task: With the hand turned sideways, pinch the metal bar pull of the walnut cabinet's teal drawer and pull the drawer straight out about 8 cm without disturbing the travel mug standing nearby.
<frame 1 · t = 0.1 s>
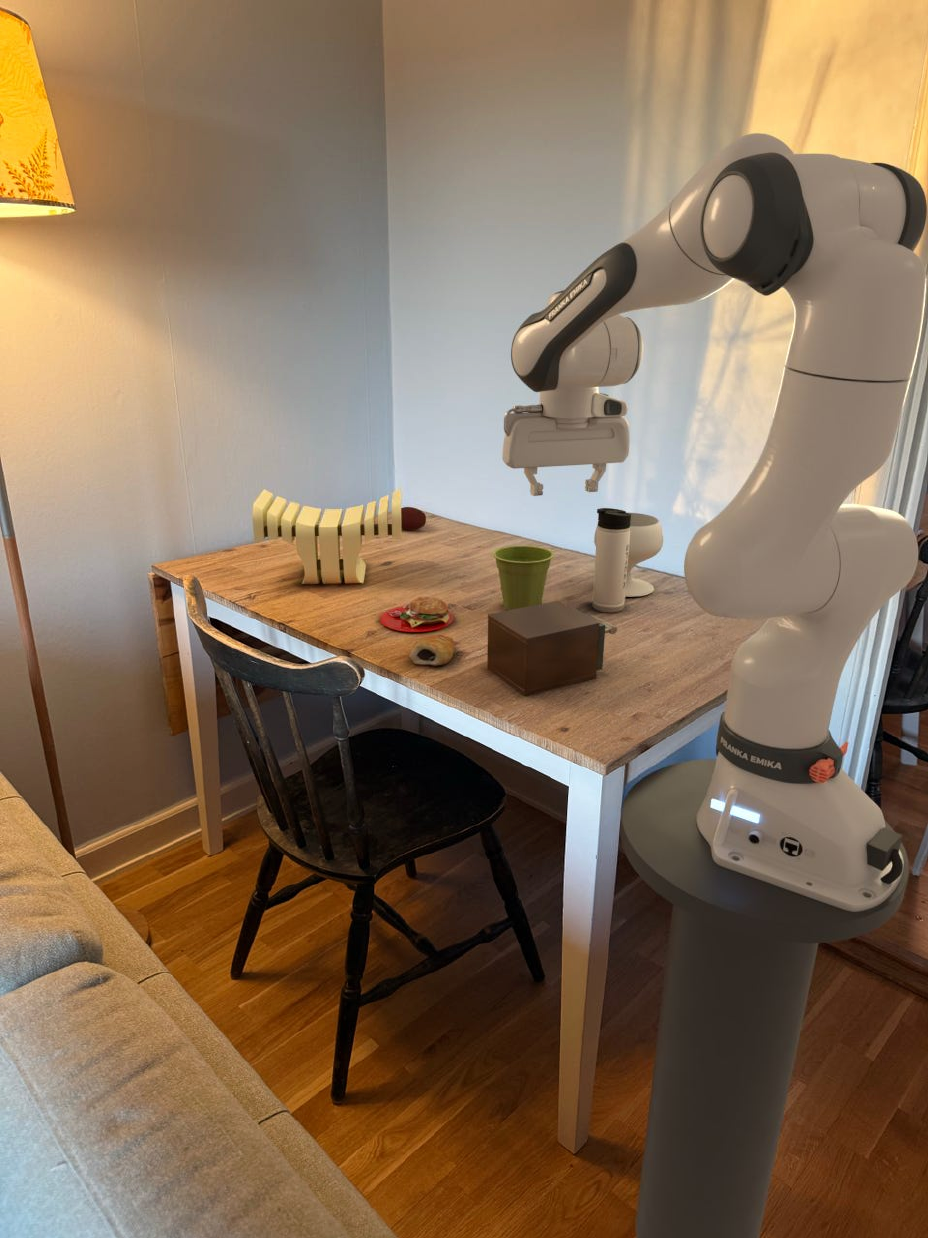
hand: (564, 493, 131), 28 cm above the table, tool pointing down, fingers open, 8 cm apart
drawer: (564, 641, 135), point 5 cm above the table, slide at 0.5 cm
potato: (410, 530, 217), on the table
chalice: (624, 589, 174), on the table
cabinet: (540, 673, 135), on the table
plant pot: (521, 608, 163), on the table
slatted curved stool: (334, 577, 181), on the table
hamburger: (416, 620, 157), on the table
pastry: (433, 658, 140), on the table
travel mug: (607, 608, 163), on the table
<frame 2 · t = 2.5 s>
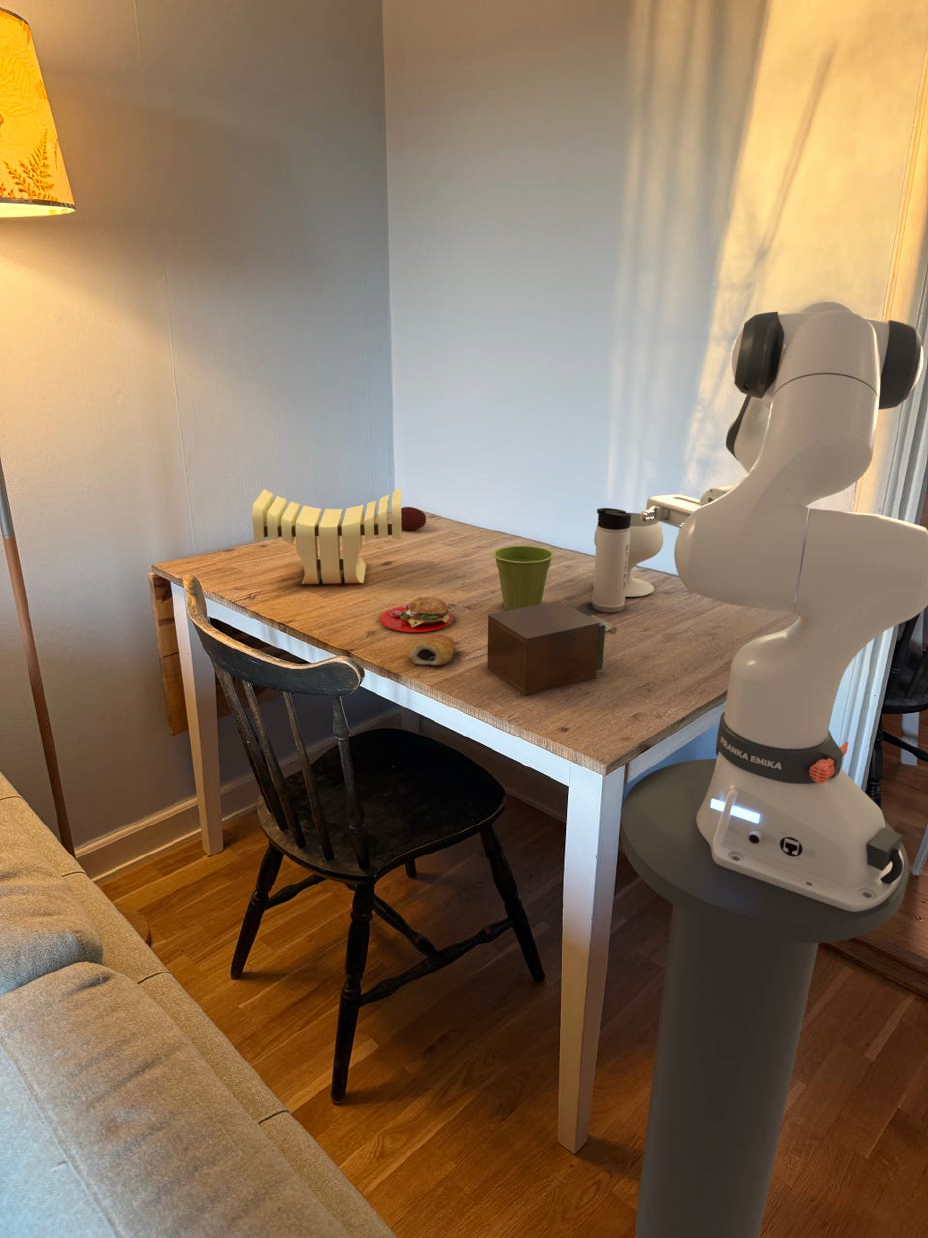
hand: (662, 523, 137), 22 cm above the table, tool horizontal, fingers open, 8 cm apart
nothing on the table moved.
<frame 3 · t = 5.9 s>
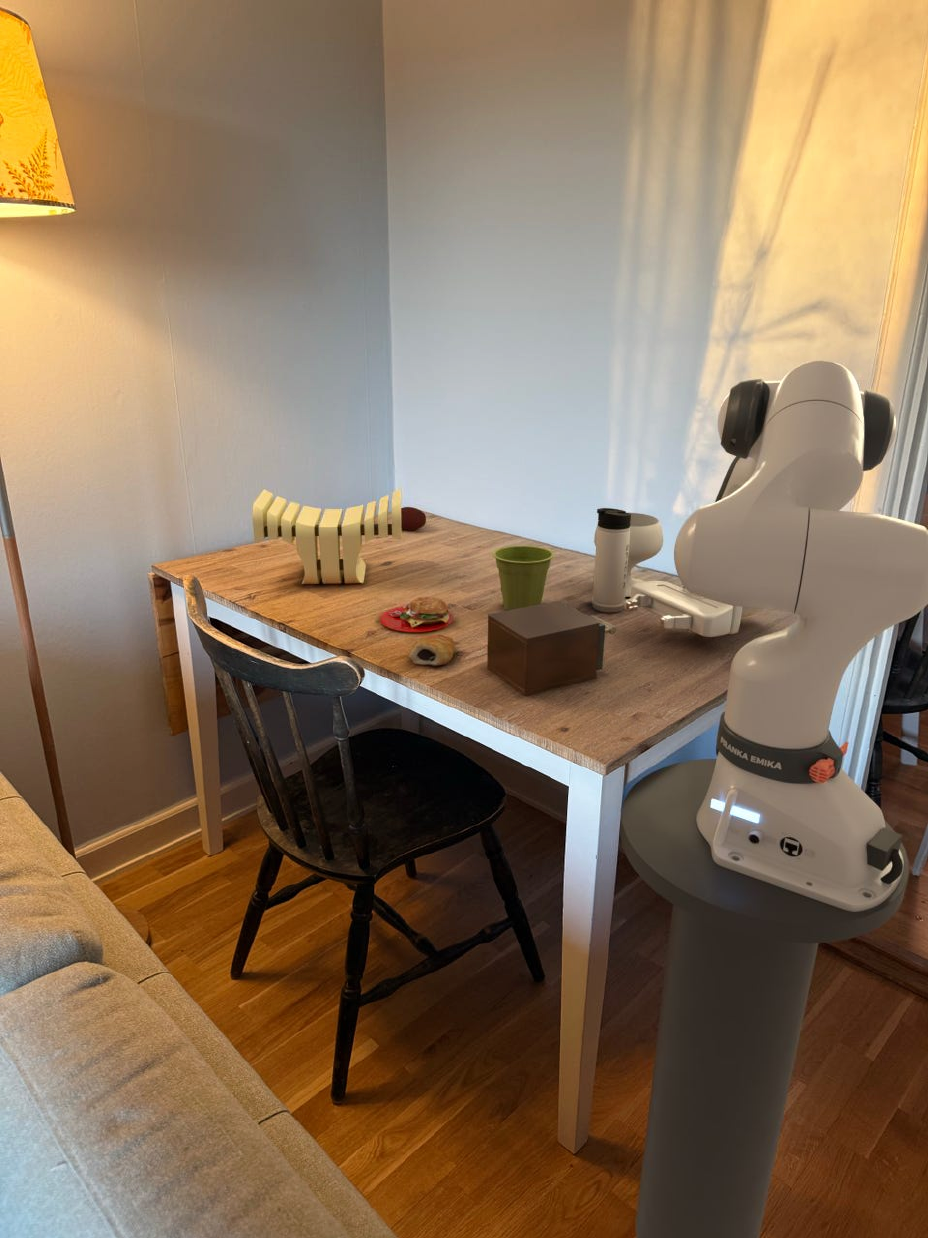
hand: (644, 614, 142), 7 cm above the table, tool horizontal, fingers open, 8 cm apart
nothing on the table moved.
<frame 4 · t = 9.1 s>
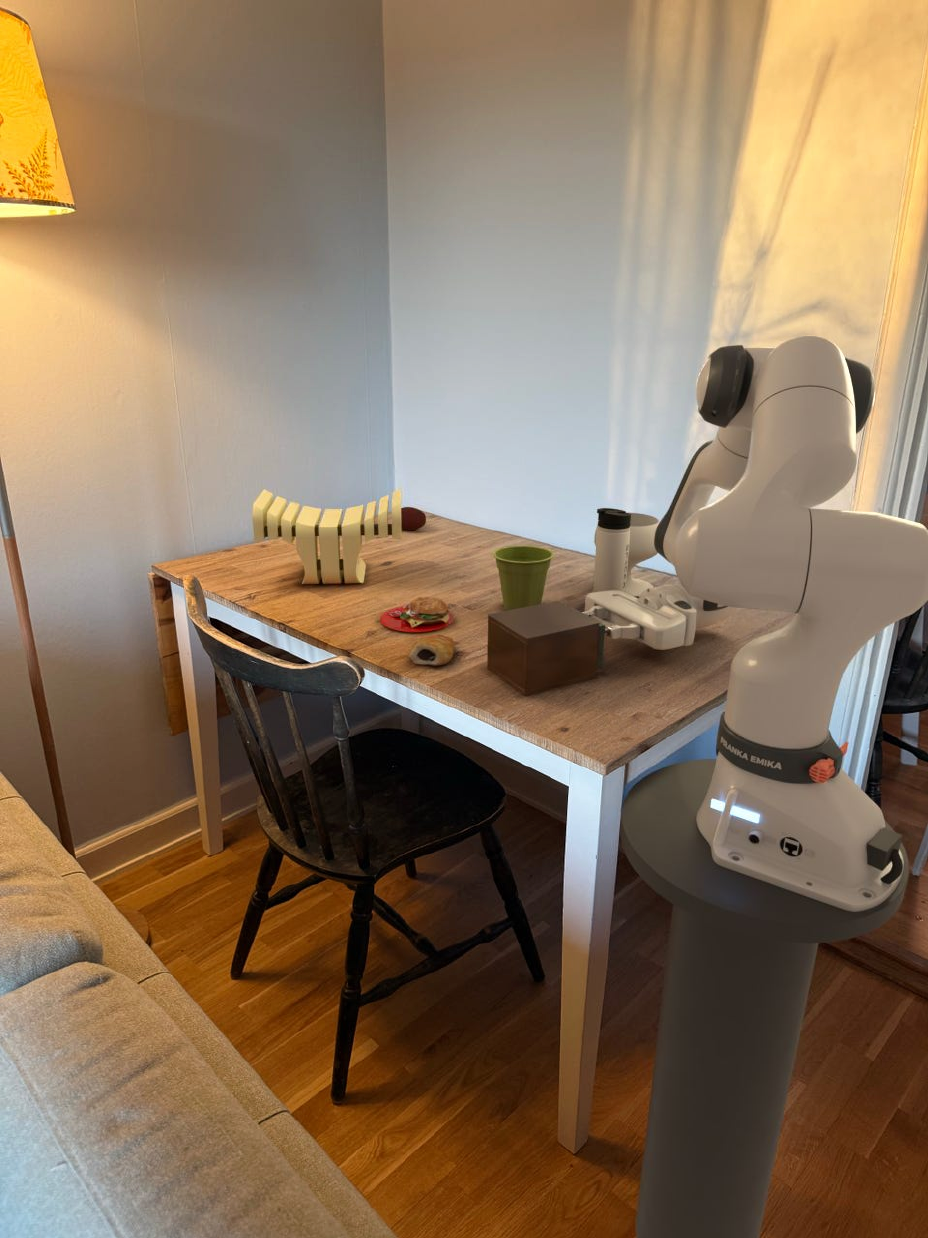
hand: (596, 625, 137), 6 cm above the table, tool horizontal, fingers closed on drawer, 6 cm apart
drawer: (564, 641, 135), point 5 cm above the table, slide at 0.5 cm, touching gripper
everything else where it was.
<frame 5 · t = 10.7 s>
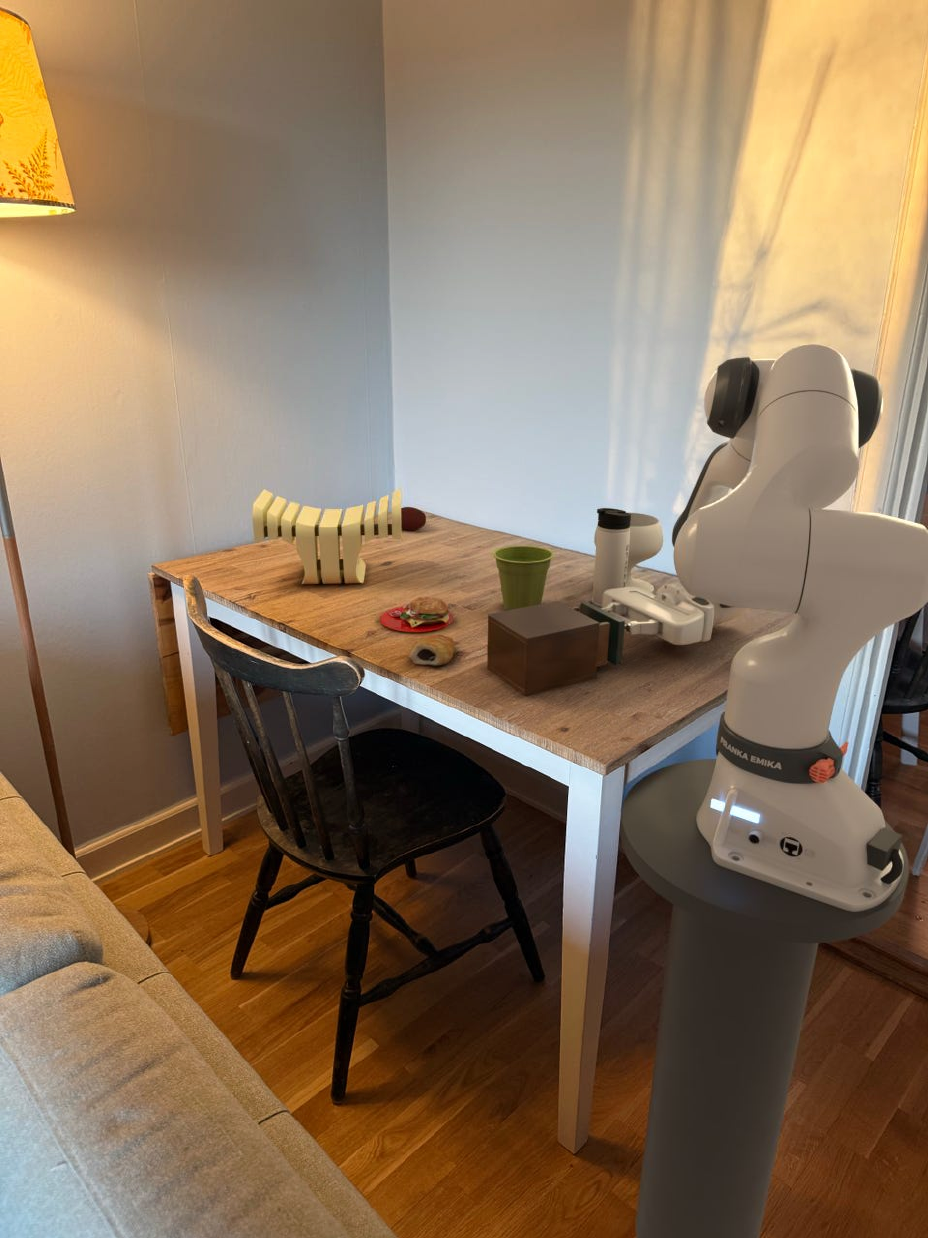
hand: (614, 621, 139), 6 cm above the table, tool horizontal, fingers closed on drawer, 6 cm apart
drawer: (583, 636, 137), point 5 cm above the table, slide at 4.5 cm, touching gripper
everything else where it was.
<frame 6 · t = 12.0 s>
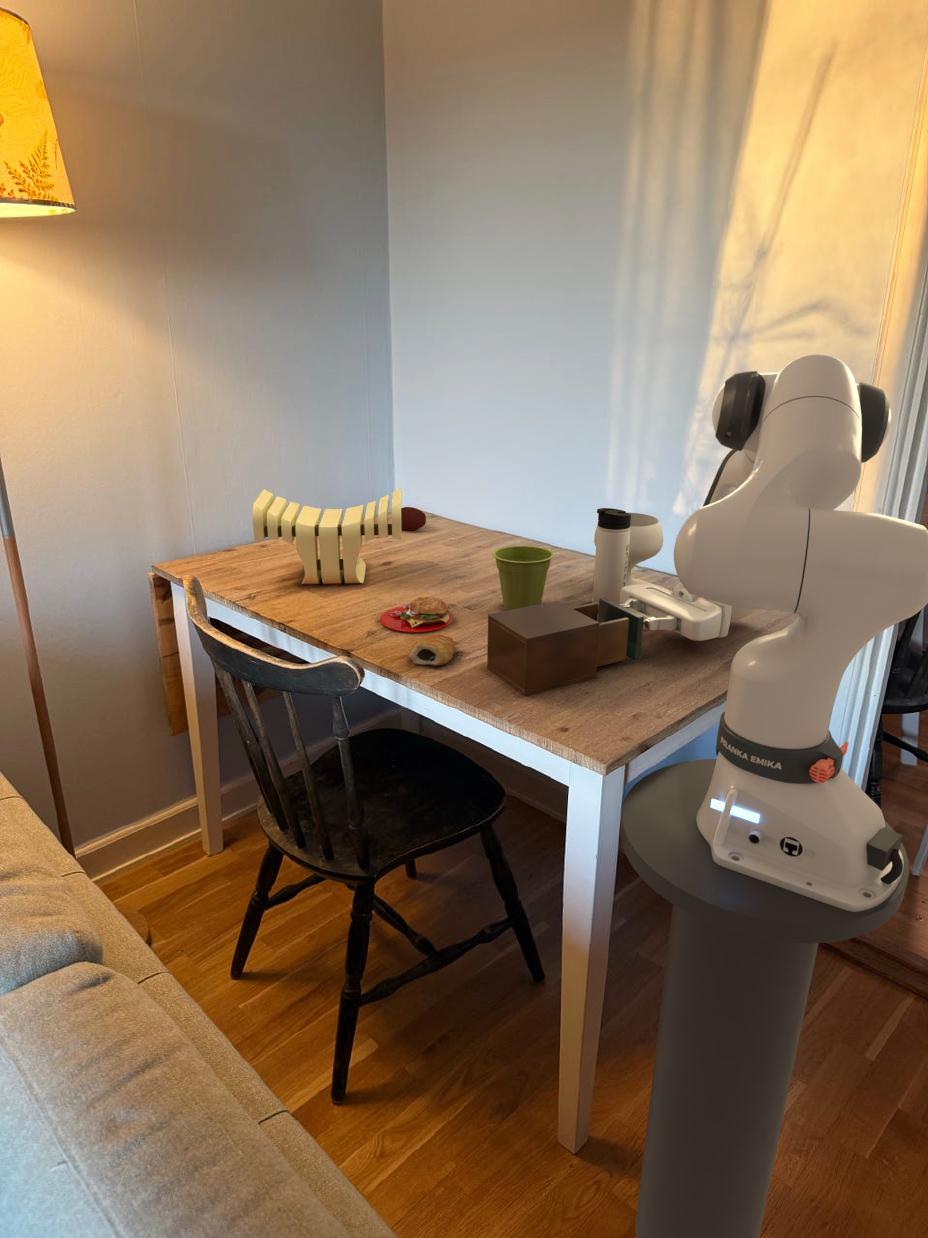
hand: (633, 617, 141), 6 cm above the table, tool horizontal, fingers closed on drawer, 6 cm apart
drawer: (603, 632, 139), point 5 cm above the table, slide at 8.4 cm, touching gripper
everything else where it was.
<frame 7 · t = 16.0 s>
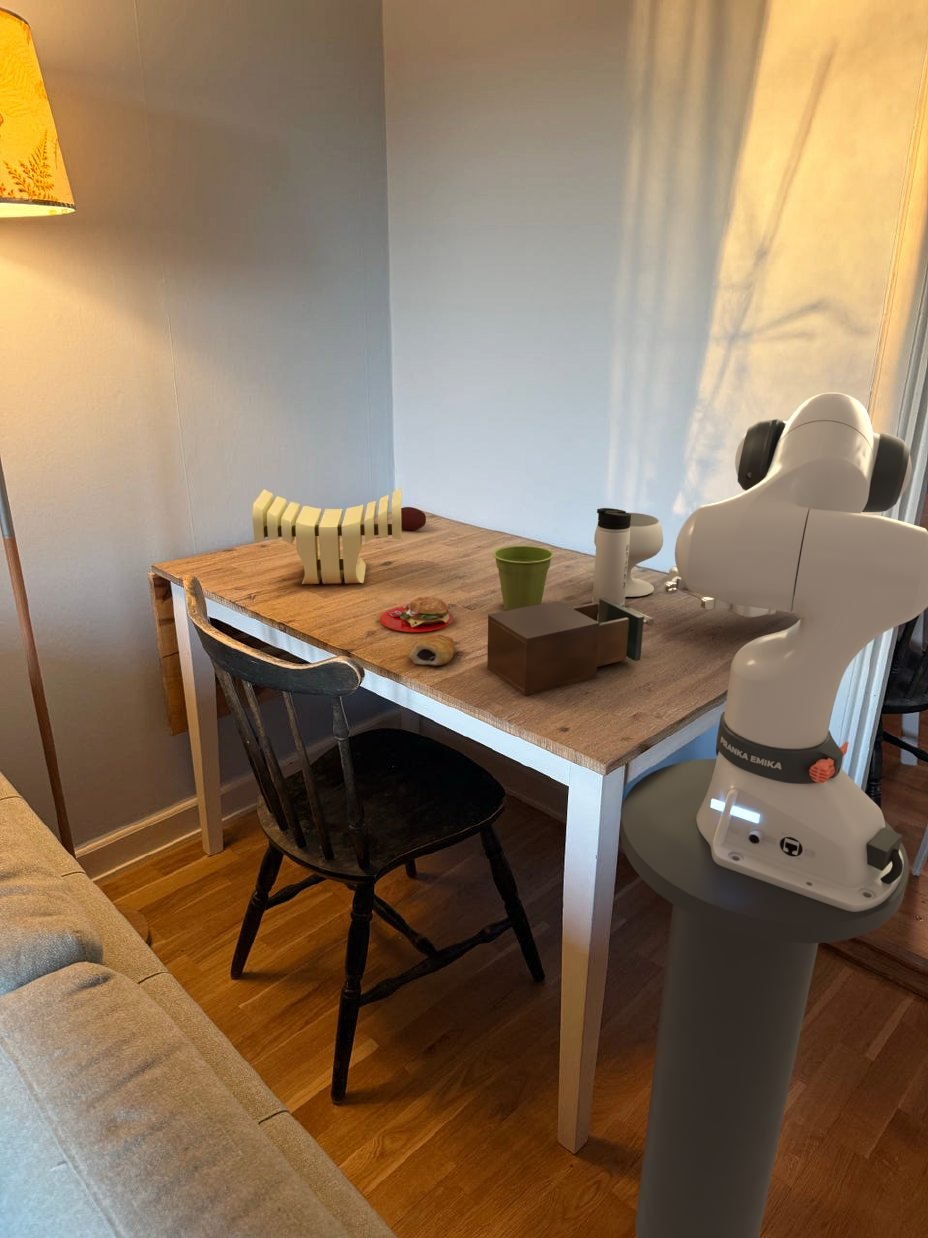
hand: (684, 595, 145), 8 cm above the table, tool horizontal, fingers open, 8 cm apart
drawer: (603, 632, 139), point 5 cm above the table, slide at 8.4 cm
everything else where it was.
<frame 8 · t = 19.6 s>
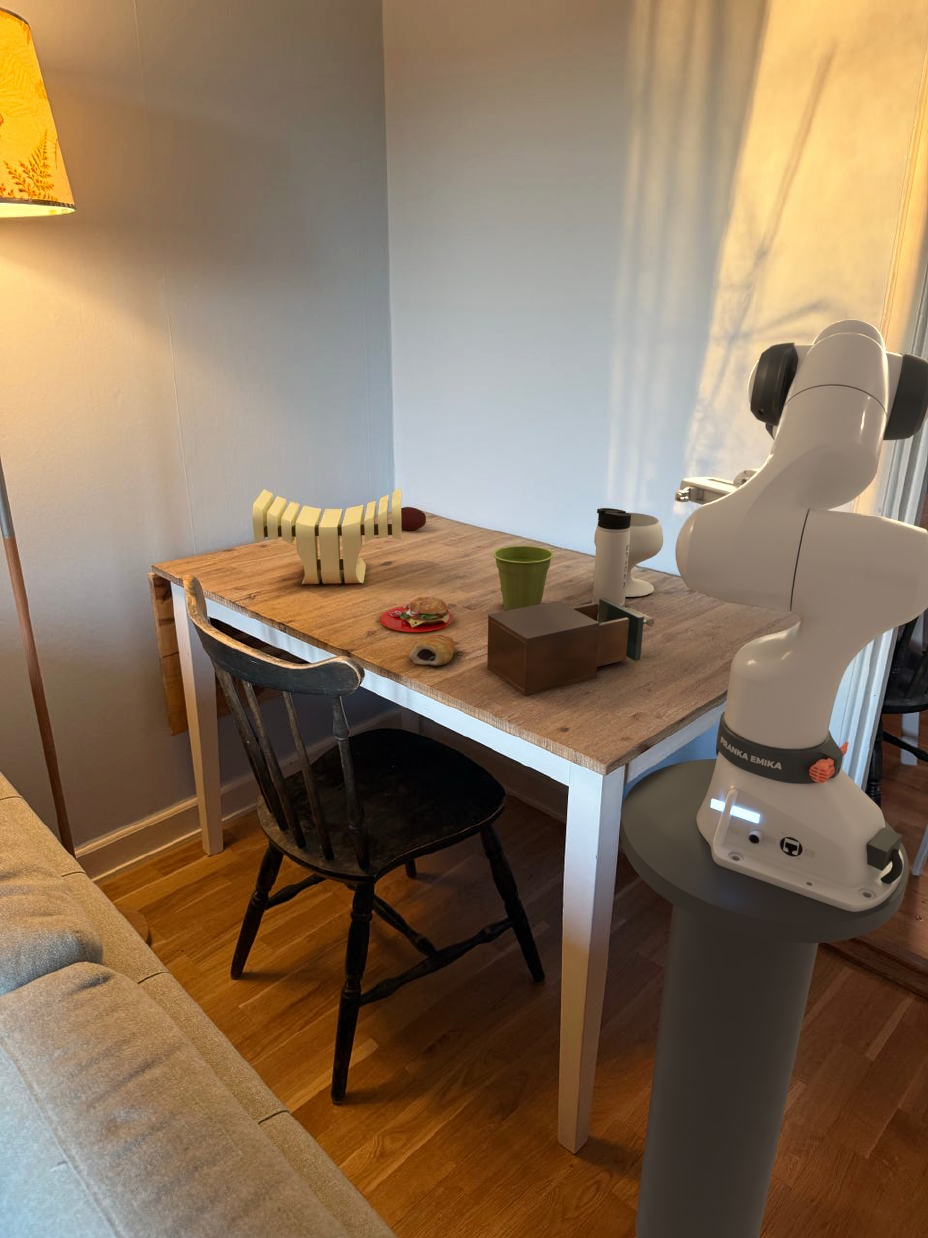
hand: (697, 502, 139), 25 cm above the table, tool horizontal, fingers open, 8 cm apart
nothing on the table moved.
at the end: drawer slide at 8.4 cm; travel mug moved 0.2 cm from its start; travel mug tilted 0° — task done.
